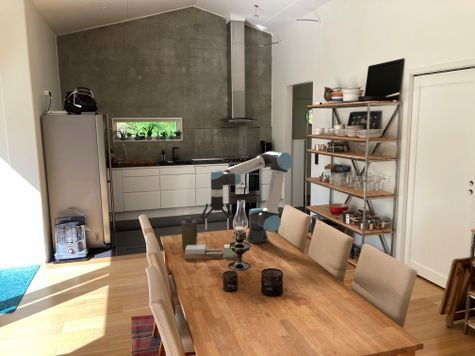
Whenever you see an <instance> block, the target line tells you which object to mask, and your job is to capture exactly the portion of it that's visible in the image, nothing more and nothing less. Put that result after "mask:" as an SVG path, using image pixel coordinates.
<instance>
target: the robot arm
mask: <svg viewBox="0 0 475 356" xmlns="http://www.w3.org/2000/svg"><path fill="white" fill-rule="evenodd" d="M293 160H294V159H293V157H292V156H291V154H290V153H289V152H287V151H280V150H270V151H266V152H264V153H262V154H258V155H257V156H256V157H254V158H252V159H250V160H247V161H245V162H242V163H238V164H237V165H234V166H230V167H228V168H225V169H223V170H216V169H215V170H212V171H211V172H210V195H211V197H210V203H208V202H206V203H205V207H204V209H203V211H202V213H201V215H200V219H202V220H203V225H205V231H207V229H208V217H209V215H211V213H212V212H213V211H214V212H217V211H218V212H220V211H221V212H222V213H223V214H224V215H225V216H226V217H227V226H226V227H227V230H228V231H229V229H230V224H231V221H232V219H234V215H233V213H232V211H231V209H230V207H229V203H228V202H226V203H224V196H223V195H224V187H225V186H236V185H239V184H241V181H242V176H244V175H245V174H249V173H251V172H253V171H256V170H259V169H265V168H269V170H270V172H271V175H270V181H269V184H268V185H269V186H268V190H267V196H266V201H265V204H264V207H258V208H257V207H255V208H251V209H249V212H248V224H249V225H248V226H249V227H248V233H247V236H246V241H247V242H248V243H250V244H259V245H260V244H264V243H268V242H269V236H268V233H267V232H270V233H274V232H276V231H277V230H278V229H279V228H280V227H281V225H282V224H281V223H282V221H281V218H280V212H279V210H278V209H279V204H280V198H281V194H282V189H283V184H284V178H285V175H286V174H288V170H289V169H291V168H292V166H293ZM209 207H210V209H209V211H208V208H209ZM223 207H224V208H226V210H227V211H226V210H225V209H224V208H223ZM227 212H228V213H227Z"/></svg>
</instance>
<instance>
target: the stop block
mask: <svg viewBox="0 0 475 356" xmlns="http://www.w3.org/2000/svg"><path fill="white" fill-rule="evenodd" d="M229 246H230V244H224V246H223V253H224V257H234V252H235V251H234V252H233V251H232V250H231V249H230V247H229Z"/></svg>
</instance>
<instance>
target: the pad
mask: <svg viewBox="0 0 475 356" xmlns="http://www.w3.org/2000/svg"><path fill="white" fill-rule="evenodd" d="M236 254H237V253H236ZM236 254H234V257H224V252H222V259H236Z"/></svg>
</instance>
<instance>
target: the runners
mask: <svg viewBox="0 0 475 356" xmlns="http://www.w3.org/2000/svg"><path fill="white" fill-rule="evenodd" d="M191 259H193V260H196V259H197V260H201V259H203V260H204V259H223V248H206V251H205V254H185V253H184V260H191Z"/></svg>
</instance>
